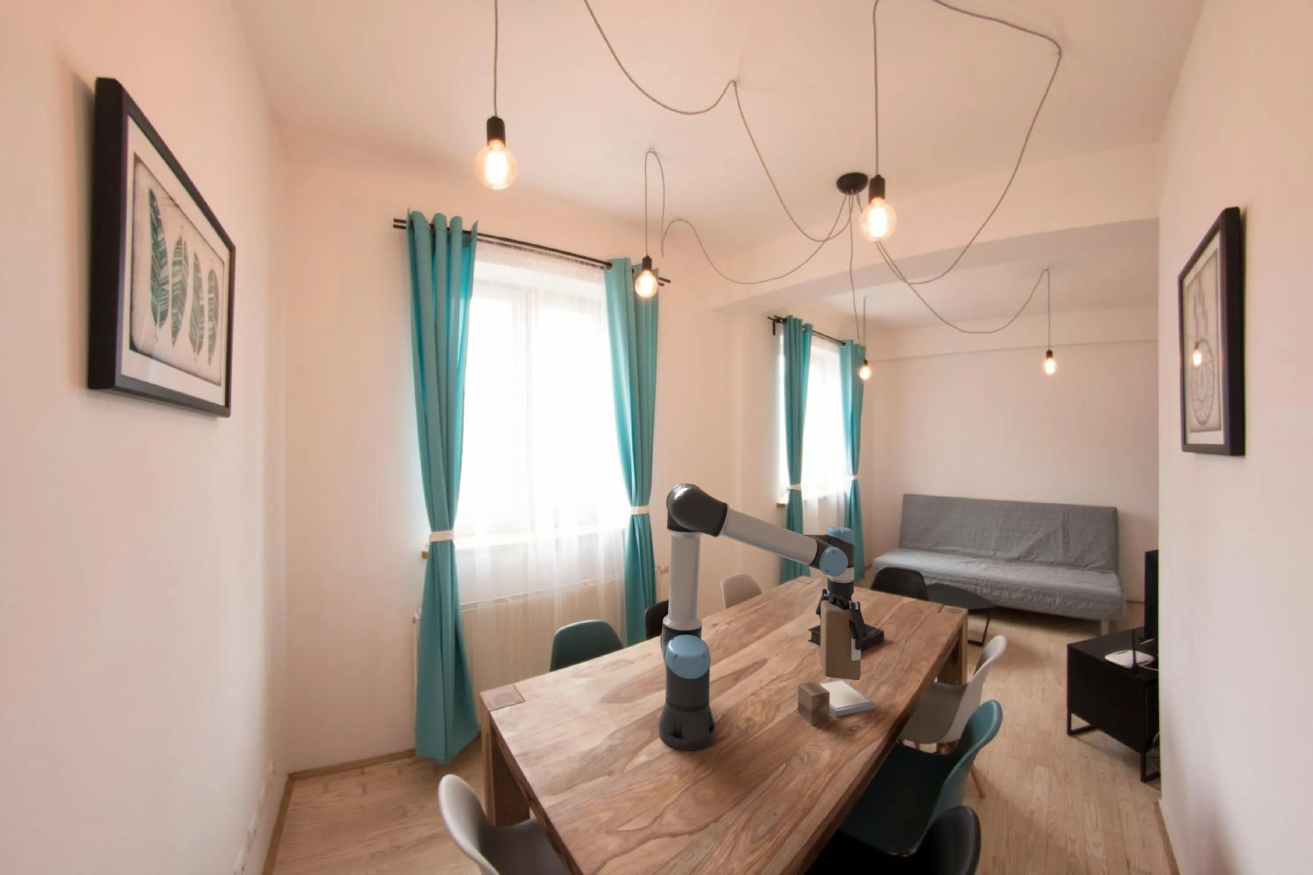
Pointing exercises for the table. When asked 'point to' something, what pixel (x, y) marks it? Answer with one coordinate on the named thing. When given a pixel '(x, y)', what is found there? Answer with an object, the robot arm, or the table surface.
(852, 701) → the board
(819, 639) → the diary
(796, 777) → the table surface
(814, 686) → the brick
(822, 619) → the block
